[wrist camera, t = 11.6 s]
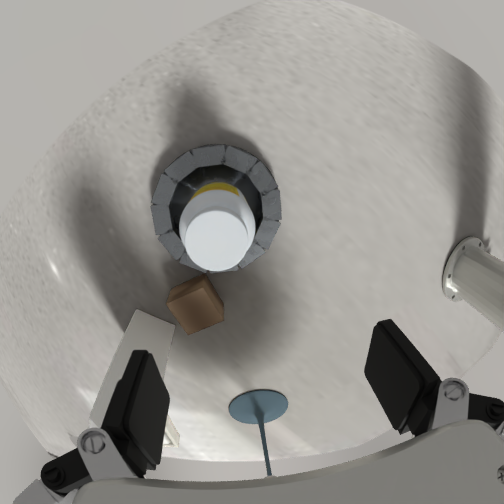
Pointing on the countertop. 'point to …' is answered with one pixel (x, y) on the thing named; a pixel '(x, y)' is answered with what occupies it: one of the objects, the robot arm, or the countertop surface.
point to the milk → (135, 338)
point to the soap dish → (171, 434)
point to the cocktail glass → (259, 412)
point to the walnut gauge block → (196, 304)
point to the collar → (216, 170)
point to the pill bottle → (217, 226)
